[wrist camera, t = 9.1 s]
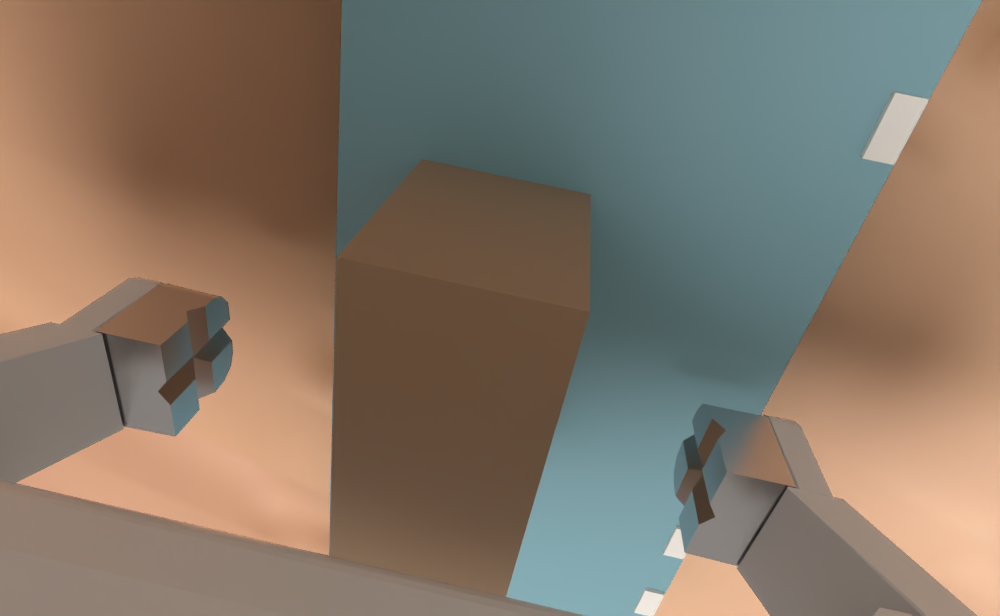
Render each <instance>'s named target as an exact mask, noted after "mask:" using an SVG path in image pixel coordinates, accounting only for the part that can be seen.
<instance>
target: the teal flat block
mask: <svg viewBox="0 0 1000 616" xmlns="http://www.w3.org/2000/svg"><path fill="white" fill-rule="evenodd" d="M981 1H982V0H342V16H341V59H340V101H339V144H338V187H337V229H336V272H335V314H334V357H333V400H332V442H331V485H330V527H329V556H332V557H336V558H341V559H345V560H349V561H353V562H358V563H362V564H366V565H371V566H375V567H379V568H384V569H388V570H392V571H397V572H401V573H405V574H410V575H414V576H418V577H423V578H427V579H431V580H436V581H440V582H444V583H448V584H453V585H457V586H461V587H466V588H470V589H474V590H479V591H483V592H487V593H492V594H496V595H500V596H504V597H509V598H513V599H517V600H522V601H526V602H530V603H534V604H539V605H543V606H547V607H552V608H556V609H560V610H565V611H569V612H573V613H577V614H582V615H586V616H653V615H654V613H655V612H656V610H657V608H658V606H659V604H660V602H661V600H662V599H663V597H664V594H665V593H666V591H667V589H668V587H669V585H670V583H671V581H672V579H673V578H674V576H675V574H676V572H677V570H678V568H679V566H680V565H681V563H682V561H683V559H684V557H685V555H686V554H687V553H685V552H684V547H683V541H682V535H681V529H680V523H679V516H680V514H681V512H682V510H683V508H684V505H683V504H682V503H681V502H680V501H679V500H678V498H677V497H676V496H675V490H674V467H675V462H676V457H677V454H678V451H679V449H680V447H681V444H682V442H683V440H685V439H687V438H689V437H690V436H692V435H694V429H693V424H692V420H693V418H694V416H695V414H696V411H697V410H698V408H699V407H700V406H701V405H702V404H703V403H704V404H709V405H713V406H718V407H723V408H728V409H732V410H737V411H742V412H746V413H751V414H756V415H761V413H762V411H763V409H764V407H765V405H766V404H767V402H768V400H769V398H770V396H771V394H772V392H773V391H774V389H775V387H776V385H777V383H778V381H779V379H780V377H781V376H782V374H783V372H784V370H785V368H786V366H787V364H788V362H789V361H790V359H791V357H792V355H793V353H794V351H795V349H796V347H797V346H798V344H799V342H800V340H801V338H802V336H803V334H804V333H805V331H806V329H807V327H808V325H809V323H810V321H811V319H812V318H813V316H814V314H815V312H816V310H817V308H818V306H819V304H820V303H821V301H822V299H823V297H824V295H825V293H826V291H827V289H828V288H829V286H830V284H831V282H832V280H833V278H834V276H835V275H836V273H837V271H838V269H839V267H840V265H841V263H842V261H843V260H844V258H845V256H846V254H847V252H848V250H849V248H850V246H851V245H852V243H853V241H854V239H855V237H856V235H857V233H858V231H859V230H860V228H861V226H862V224H863V222H864V220H865V218H866V217H867V215H868V213H869V211H870V209H871V207H872V205H873V203H874V202H875V200H876V198H877V196H878V194H879V192H880V190H881V188H882V187H883V185H884V183H885V181H886V179H887V177H888V175H889V173H890V172H891V170H892V168H893V166H894V165H895V163H896V161H897V159H898V157H899V155H900V153H901V152H902V150H903V148H904V146H905V144H906V142H907V140H908V138H909V137H910V135H911V133H912V131H913V129H914V127H915V125H916V124H917V122H918V120H919V118H920V116H921V114H922V112H923V110H924V109H925V107H926V105H927V103H928V101H929V99H930V97H931V95H932V93H933V91H934V89H935V87H936V86H937V84H938V82H939V80H940V78H941V76H942V74H943V72H944V71H945V69H946V67H947V65H948V63H949V61H950V59H951V57H952V56H953V54H954V52H955V50H956V48H957V46H958V44H959V43H960V41H961V39H962V37H963V35H964V33H965V31H966V29H967V28H968V26H969V24H970V22H971V20H972V18H973V16H974V14H975V13H976V11H977V9H978V7H979V5H980V3H981Z"/></svg>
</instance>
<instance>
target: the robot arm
mask: <svg viewBox="0 0 1000 616" xmlns="http://www.w3.org/2000/svg"><path fill="white" fill-rule="evenodd" d="M229 320H230V315H229V308H228V302H227V301H226V300H225V299H223V298H222V297H220V296H216V295H212V294H208V293H204V292H200V291H196V290H192V289H187V288H183V287H179V286H175V285H171V284H164V283H162V282H158V281H153V280H149V279H144V278H140V277H138V278H129V279H127V280H126V281H124V282H123V283H121V284H120V285H118V286H117V287H115V288H114V289H112V290H111V291H109V292H108V293H106V294H105V295H103V296H102V297H100V298H99V299H97V300H96V301H94V302H93V303H91V304H90V305H88V306H87V307H85V308H84V309H82V310H81V311H79V312H78V313H76V314H75V315H73V316H72V317H70V318H69V319H67V320H66V321H64V322H63V323H61V324H56V323H52V322H50V323H46V324H42V325H37V326H33V327H29V328H25V329H21V330H17V331H13V332H8V333H4V334H0V616H586V615H582V614H577V613H573V612H569V611H565V610H560V609H556V608H552V607H547V606H543V605H539V604H534V603H530V602H526V601H522V600H517V599H513V598H509V597H504V596H500V595H496V594H492V593H487V592H483V591H479V590H474V589H470V588H466V587H461V586H457V585H453V584H448V583H444V582H440V581H436V580H431V579H427V578H423V577H418V576H414V575H410V574H405V573H401V572H397V571H392V570H388V569H384V568H379V567H375V566H371V565H366V564H362V563H358V562H353V561H349V560H345V559H341V558H336V557H332V556H328V555H323V554H319V553H315V552H310V551H306V550H302V549H297V548H293V547H289V546H284V545H280V544H276V543H271V542H267V541H263V540H258V539H254V538H250V537H246V536H241V535H237V534H233V533H228V532H224V531H220V530H215V529H211V528H207V527H202V526H198V525H194V524H189V523H185V522H181V521H176V520H172V519H168V518H164V517H159V516H155V515H151V514H146V513H142V512H138V511H133V510H129V509H125V508H120V507H116V506H112V505H107V504H103V503H99V502H94V501H90V500H86V499H82V498H77V497H73V496H69V495H64V494H60V493H56V492H51V491H47V490H43V489H38V488H34V487H30V486H25V485H21V484H17V483H16V482H18V481H20V480H22V479H24V478H26V477H28V476H30V475H32V474H34V473H36V472H38V471H40V470H42V469H44V468H46V467H48V466H50V465H52V464H54V463H56V462H58V461H60V460H62V459H64V458H66V457H68V456H70V455H72V454H74V453H76V452H78V451H80V450H82V449H84V448H86V447H88V446H90V445H92V444H94V443H96V442H98V441H100V440H102V439H104V438H106V437H108V436H110V435H112V434H114V433H116V432H118V431H120V430H122V429H123V426H125V427H130V428H135V429H140V430H145V431H150V432H155V433H160V434H165V435H170V436H176V435H177V434H178V433H179V432H180V431H181V430H182V429H183V427H184V426H185V425H186V424H187V423H188V422H189V421H190V420H191V418H192V417H193V416H194V415H195V414H196V413H197V412H198V411H199V401H198V399H199V398H201V397H204V396H206V395H209V394H211V393H214V392H215V391H216V390H217V389H218V388H219V386H220V385H221V384H222V383H223V382H224V380H225V378H226V375H227V373H228V371H229V369H230V366H231V361H232V354H233V349H232V340H231V339H230V337H229V336H228V335H227V334H226V332H225V331H224V330H223V327H224V325H225V324H226V323H227V322H228V321H229ZM692 424H693V429H694V435H692V436H690V437H689V438H687V439H685V440H683V442H682V444H681V447H680V449H679V451H678V454H677V457H676V462H675V467H674V490H675V496H676V497H677V498H678V500H679V501H680V502H681V503H682V504H683V505H684V508H683V510H682V512H681V514H680V516H679V523H680V529H681V535H682V541H683V547H684V552H685V553H688V554H692V555H696V556H700V557H704V558H708V559H712V560H716V561H720V562H724V563H728V564H731V565H735V566H738V568H737V569H738V571H739V572H740V573H741V575H742V576H743V578H744V579H745V580H746V582H747V583H748V585H749V586H750V588H751V589H752V590H753V592H754V593H755V595H756V596H757V597H758V599H759V600H760V602H761V603H762V605H763V606H764V607H765V609H766V610H767V612H768V613H769V614H770V616H977V615H976V614H975V613H973V612H972V611H971V610H970V609H969V608H968V607H966V606H965V605H964V604H963V603H962V602H961V601H960V600H958V599H957V598H956V597H955V596H954V595H953V594H952V593H950V592H949V591H948V590H947V589H946V588H945V587H943V586H942V585H941V584H940V583H939V582H938V581H937V580H935V579H934V578H933V577H932V576H931V575H930V574H929V573H927V572H926V571H925V570H924V569H923V568H922V567H920V566H919V565H918V564H917V563H916V562H915V561H914V560H912V559H911V558H910V557H909V556H908V555H907V554H905V553H904V552H903V551H902V550H901V549H900V548H899V547H897V546H896V545H895V544H894V543H893V542H892V541H891V540H889V539H888V538H887V537H886V536H885V535H884V534H882V533H881V532H880V531H879V530H878V529H877V528H876V527H874V526H873V525H872V524H871V523H870V522H869V521H868V520H866V519H865V518H864V517H863V516H862V515H861V514H859V513H858V512H857V511H856V510H855V509H854V508H853V507H851V506H850V505H849V504H848V503H847V502H846V501H845V500H843V499H840V498H836V497H833V496H832V493H831V491H830V489H829V487H828V485H827V483H826V480H825V478H824V476H823V474H822V472H821V470H820V467H819V465H818V463H817V461H816V459H815V457H814V454H813V452H812V450H811V448H810V446H809V443H808V441H807V439H806V437H805V435H804V433H803V430H802V428H801V426H800V425H799V424H797V423H796V422H795V421H792V420H786V419H781V418H776V417H770V416H765V415H764V416H761V415H756V414H751V413H746V412H742V411H737V410H732V409H728V408H723V407H718V406H713V405H709V404H704V403H703V404H702V405H701V406H700V407H699V408H698V410H697V411H696V414H695V416H694V418H693V420H692Z"/></svg>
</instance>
